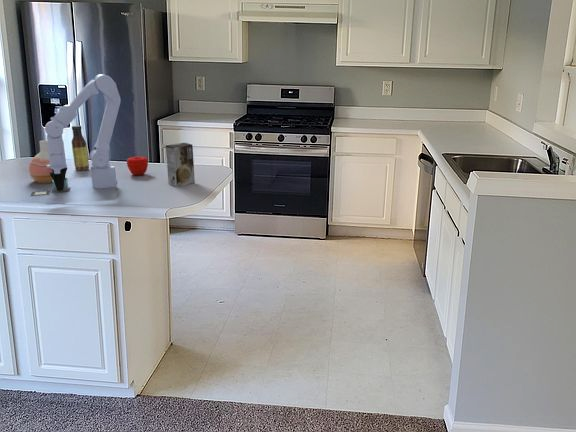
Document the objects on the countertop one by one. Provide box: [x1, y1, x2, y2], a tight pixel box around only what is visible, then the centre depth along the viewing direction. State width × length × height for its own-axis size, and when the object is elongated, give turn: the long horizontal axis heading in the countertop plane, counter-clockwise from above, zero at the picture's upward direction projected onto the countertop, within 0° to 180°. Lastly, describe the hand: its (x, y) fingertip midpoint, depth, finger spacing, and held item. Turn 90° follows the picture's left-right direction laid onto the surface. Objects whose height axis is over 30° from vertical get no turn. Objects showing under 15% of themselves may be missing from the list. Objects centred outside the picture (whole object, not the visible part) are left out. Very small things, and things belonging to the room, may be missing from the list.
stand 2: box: [50, 186, 71, 194], centre depth 216 cm, size 7×7×1 cm
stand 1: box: [30, 190, 52, 197], centre depth 212 cm, size 7×7×1 cm
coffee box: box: [165, 142, 196, 187], centre depth 229 cm, size 9×6×16 cm
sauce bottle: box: [71, 125, 90, 172], centre depth 255 cm, size 7×6×20 cm
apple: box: [126, 156, 149, 176], centre depth 246 cm, size 9×9×8 cm
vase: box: [28, 139, 53, 184], centre depth 229 cm, size 14×14×18 cm
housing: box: [51, 177, 69, 193], centre depth 216 cm, size 5×5×4 cm
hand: (60, 188), depth 216 cm, fingers open, 6 cm apart
